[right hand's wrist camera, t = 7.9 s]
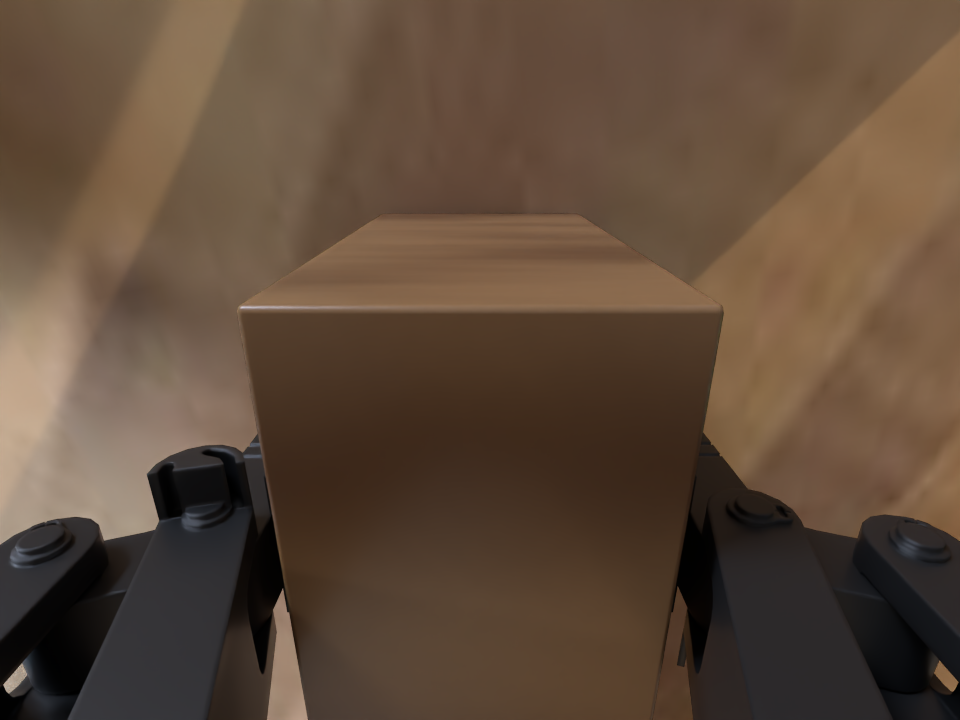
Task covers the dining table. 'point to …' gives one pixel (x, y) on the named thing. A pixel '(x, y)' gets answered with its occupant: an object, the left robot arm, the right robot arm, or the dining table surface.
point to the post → (480, 465)
